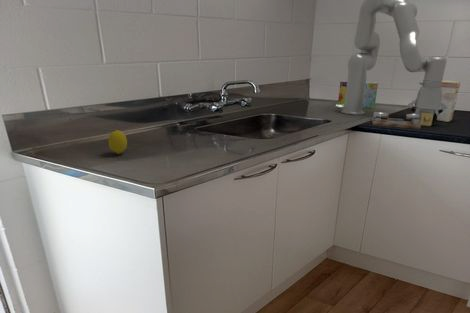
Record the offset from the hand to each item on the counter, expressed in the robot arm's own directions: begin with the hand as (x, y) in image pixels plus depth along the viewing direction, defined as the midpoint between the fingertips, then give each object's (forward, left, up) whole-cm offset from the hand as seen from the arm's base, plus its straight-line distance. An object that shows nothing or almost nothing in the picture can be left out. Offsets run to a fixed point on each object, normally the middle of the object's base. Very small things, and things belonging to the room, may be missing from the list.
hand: (423, 121), depth 162 cm
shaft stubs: (-14, -6, -1) cm, 15 cm away
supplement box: (+3, +11, -1) cm, 12 cm away
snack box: (-29, +41, -2) cm, 50 cm away
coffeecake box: (+9, +16, -1) cm, 18 cm away
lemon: (-108, -88, -2) cm, 139 cm away
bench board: (-14, -6, -1) cm, 15 cm away
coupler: (0, 0, -1) cm, 1 cm away
